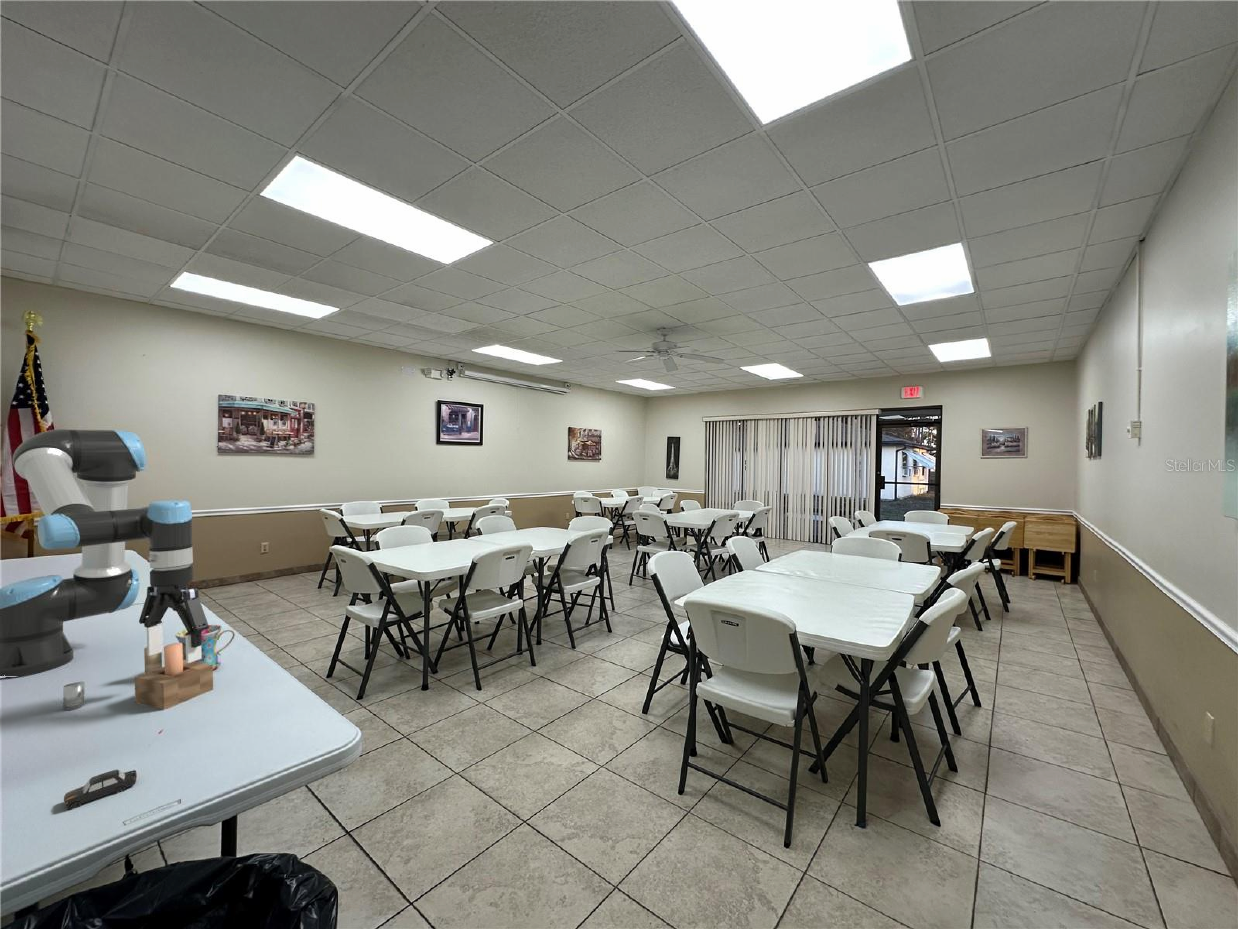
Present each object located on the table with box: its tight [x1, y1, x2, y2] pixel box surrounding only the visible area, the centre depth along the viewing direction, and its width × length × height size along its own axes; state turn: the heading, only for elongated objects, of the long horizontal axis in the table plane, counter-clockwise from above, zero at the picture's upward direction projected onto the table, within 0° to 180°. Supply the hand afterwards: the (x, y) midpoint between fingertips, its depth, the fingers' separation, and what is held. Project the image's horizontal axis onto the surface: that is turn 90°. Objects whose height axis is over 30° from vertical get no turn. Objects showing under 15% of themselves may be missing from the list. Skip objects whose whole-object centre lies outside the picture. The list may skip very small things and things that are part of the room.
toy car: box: [63, 729, 164, 811], centre depth 84 cm, size 4×12×8 cm, turn 137°
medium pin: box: [143, 646, 163, 674], centre depth 126 cm, size 3×3×8 cm
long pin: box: [163, 642, 183, 676], centre depth 117 cm, size 3×3×12 cm
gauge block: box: [134, 660, 214, 710], centre depth 117 cm, size 10×10×6 cm
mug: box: [175, 624, 236, 670], centre depth 131 cm, size 12×9×11 cm
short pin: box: [62, 681, 86, 711], centre depth 112 cm, size 3×3×5 cm
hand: (174, 657), depth 117 cm, fingers open, 13 cm apart
